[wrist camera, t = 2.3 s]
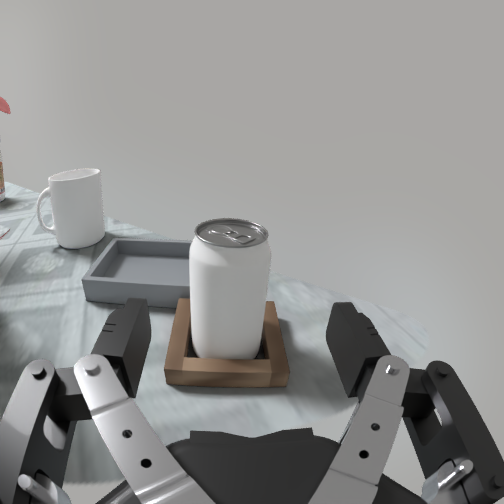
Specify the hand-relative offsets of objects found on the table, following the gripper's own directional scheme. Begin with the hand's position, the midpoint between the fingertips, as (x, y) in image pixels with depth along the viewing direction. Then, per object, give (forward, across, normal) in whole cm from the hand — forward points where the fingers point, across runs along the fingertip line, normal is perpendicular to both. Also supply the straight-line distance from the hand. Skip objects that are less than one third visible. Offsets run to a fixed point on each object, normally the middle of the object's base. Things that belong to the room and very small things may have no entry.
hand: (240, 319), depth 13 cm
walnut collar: (+12, 0, +12) cm, 17 cm away
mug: (+34, +27, +12) cm, 46 cm away
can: (+12, 0, +13) cm, 17 cm away
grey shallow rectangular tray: (+24, +10, +12) cm, 28 cm away
